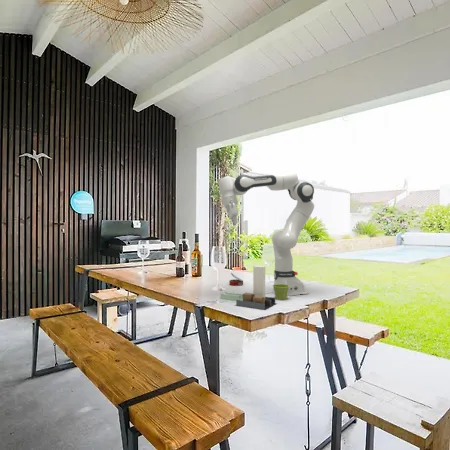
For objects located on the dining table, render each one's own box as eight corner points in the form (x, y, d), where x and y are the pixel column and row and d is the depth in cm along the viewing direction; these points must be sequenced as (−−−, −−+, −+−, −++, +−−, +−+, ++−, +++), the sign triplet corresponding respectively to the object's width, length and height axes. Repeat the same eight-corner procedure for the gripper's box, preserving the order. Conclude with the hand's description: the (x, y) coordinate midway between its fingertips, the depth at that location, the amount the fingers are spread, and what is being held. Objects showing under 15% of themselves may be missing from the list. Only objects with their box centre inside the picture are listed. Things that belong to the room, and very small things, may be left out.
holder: (226, 297, 210) (226, 290, 210) (247, 300, 203) (247, 293, 203) (216, 301, 200) (216, 294, 200) (237, 305, 193) (237, 297, 192)
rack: (247, 301, 201) (247, 294, 201) (277, 305, 192) (277, 298, 191) (234, 307, 187) (234, 299, 187) (265, 312, 178) (265, 304, 178)
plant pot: (280, 303, 197) (281, 287, 196) (269, 300, 204) (269, 285, 204) (292, 301, 202) (292, 286, 202) (280, 297, 210) (281, 283, 210)
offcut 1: (246, 303, 191) (246, 292, 191) (254, 304, 189) (254, 293, 188) (242, 305, 188) (242, 293, 188) (251, 306, 185) (251, 295, 185)
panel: (255, 301, 195) (255, 265, 195) (265, 303, 192) (265, 266, 192) (253, 302, 193) (253, 266, 193) (263, 304, 190) (263, 267, 190)
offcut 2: (256, 305, 188) (256, 295, 188) (264, 306, 186) (264, 296, 185) (252, 306, 185) (252, 297, 184) (261, 307, 182) (261, 298, 182)
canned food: (233, 289, 255) (237, 276, 259) (244, 290, 249) (247, 276, 252) (224, 284, 248) (227, 271, 252) (235, 284, 241) (238, 271, 245)
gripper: (236, 198, 205) (242, 221, 204) (233, 204, 226) (238, 224, 225) (226, 200, 205) (231, 223, 204) (224, 206, 225) (229, 227, 224)
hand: (235, 224), depth 214 cm, fingers open, 8 cm apart
